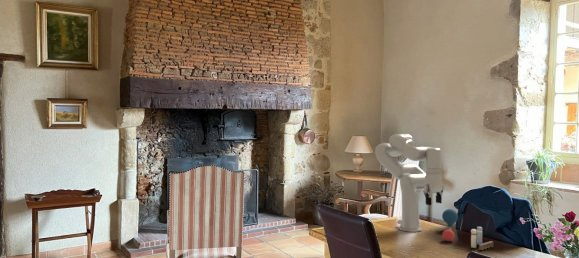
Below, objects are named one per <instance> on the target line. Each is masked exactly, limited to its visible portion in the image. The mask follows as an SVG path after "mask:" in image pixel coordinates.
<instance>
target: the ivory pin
mask: <svg viewBox="0 0 579 258" xmlns="http://www.w3.org/2000/svg"><path fill="white" fill-rule="evenodd" d="M470 235H471V236H470V248H473V249H474V248H475V249H476V248H477V229H475V228H472V229H471V230H470Z"/></svg>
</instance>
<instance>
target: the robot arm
mask: <svg viewBox="0 0 579 258" xmlns="http://www.w3.org/2000/svg"><path fill="white" fill-rule="evenodd" d="M374 153H375V154H374V155H375V158H376V160H377V161H378V163H380V165H382V166H383V167H384V168H385V169H386V170H387V171H388V172H389V173H390V174H391V176H393V177H394V178H395V179H397V180H398V181H399V185H400V186H399V188H400V192H401V219H398V220H397V221H396V223H397V224H399V227H398V228H399V230H400V231H403V232H408V233H409V232H410V233H418V232H421V231H422V230H423V227H421V226H420V197H419V195H418V193H417V191H422V192H423V195H424V197H425V205H427V206H432V194H435V203H437V204H442V202H443V200H442V196H443V192H444V188H445V187H444V185H443V178H442V150H441V148H440V147H432V146H415V142H414V138H413V136H412V135H410V134H408V133H395V134H392V135H391V136H390V137H389V138H388V142H383V143H379V144H378V145H376V147H375V150H374ZM399 156H403V157H404V158H406V159H408V160H411V161H414V162H421V161H422V162H423V161H424V162H426V164H425V166H426V167H425V168H426V169H425V171H424V170H423V169H421V168H420V167H419V166H418V165H416V164H414V163H402V162H400V161H399V160H398V159H397V158H396V157H399Z"/></svg>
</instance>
